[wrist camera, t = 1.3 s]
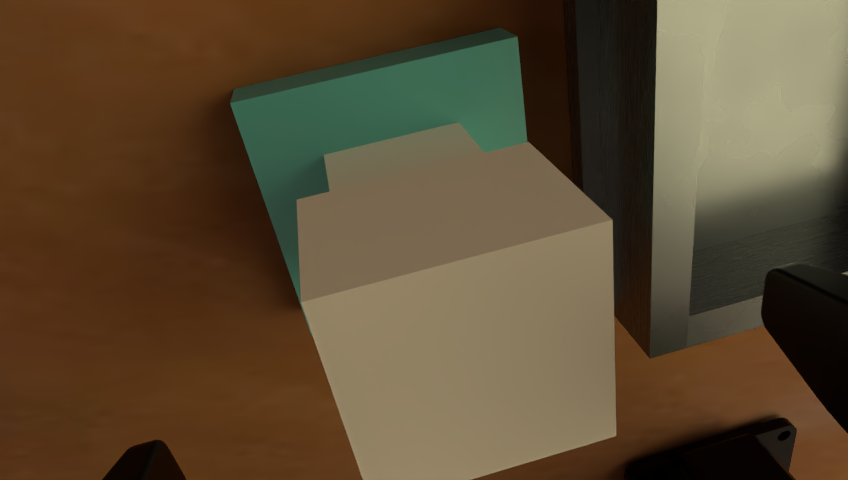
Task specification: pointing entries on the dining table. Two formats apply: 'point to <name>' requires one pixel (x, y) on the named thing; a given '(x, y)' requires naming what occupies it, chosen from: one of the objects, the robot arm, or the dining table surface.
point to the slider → (438, 259)
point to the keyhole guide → (709, 152)
